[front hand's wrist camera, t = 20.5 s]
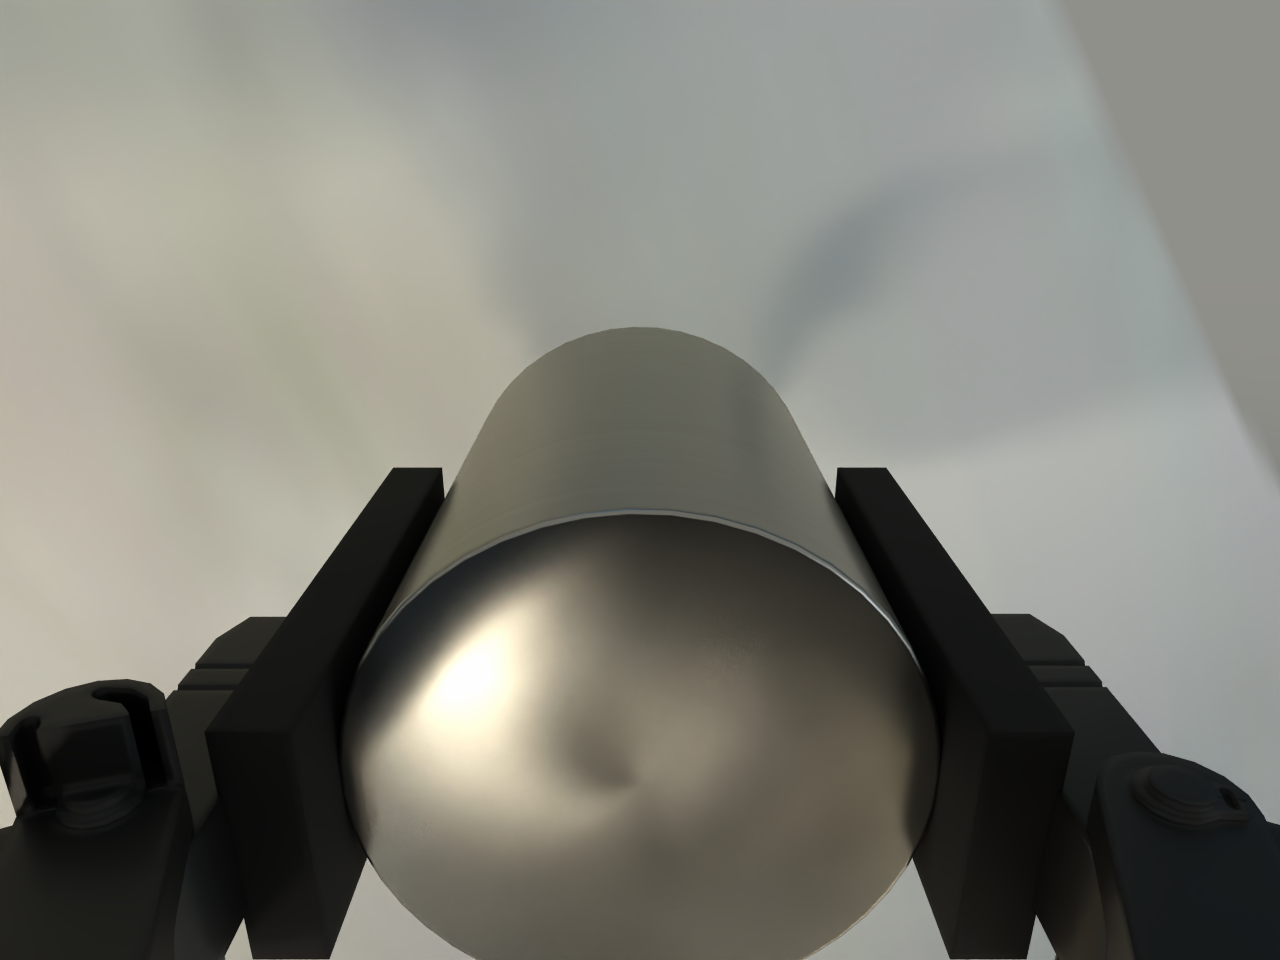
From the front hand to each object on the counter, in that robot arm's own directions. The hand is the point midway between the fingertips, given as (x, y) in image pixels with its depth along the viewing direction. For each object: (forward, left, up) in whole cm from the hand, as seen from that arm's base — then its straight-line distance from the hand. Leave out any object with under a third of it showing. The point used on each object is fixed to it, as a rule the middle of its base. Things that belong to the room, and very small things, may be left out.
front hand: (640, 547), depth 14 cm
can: (0, 0, -2) cm, 2 cm away
